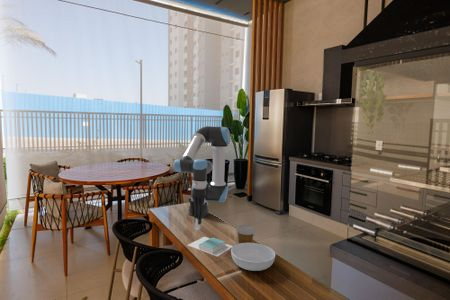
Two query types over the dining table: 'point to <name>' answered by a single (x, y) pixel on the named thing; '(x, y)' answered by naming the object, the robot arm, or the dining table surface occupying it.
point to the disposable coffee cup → (245, 234)
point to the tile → (212, 245)
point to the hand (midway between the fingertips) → (197, 229)
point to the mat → (217, 253)
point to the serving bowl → (253, 256)
